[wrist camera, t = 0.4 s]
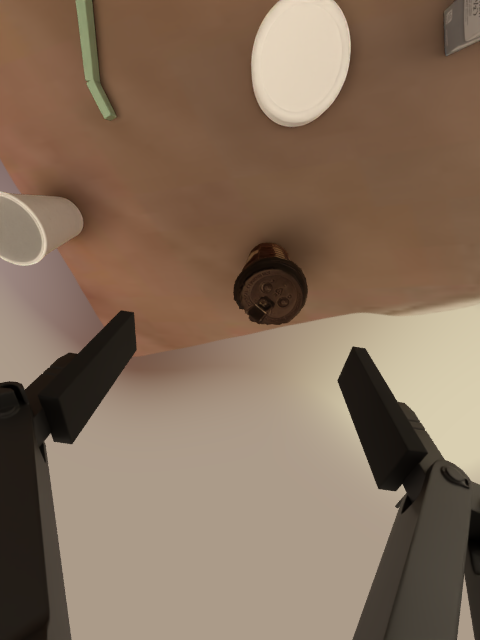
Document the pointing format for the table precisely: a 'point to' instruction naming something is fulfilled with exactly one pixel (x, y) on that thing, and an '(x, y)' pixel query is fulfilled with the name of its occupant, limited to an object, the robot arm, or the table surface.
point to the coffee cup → (270, 286)
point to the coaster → (300, 60)
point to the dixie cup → (35, 226)
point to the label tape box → (461, 25)
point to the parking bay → (92, 57)
